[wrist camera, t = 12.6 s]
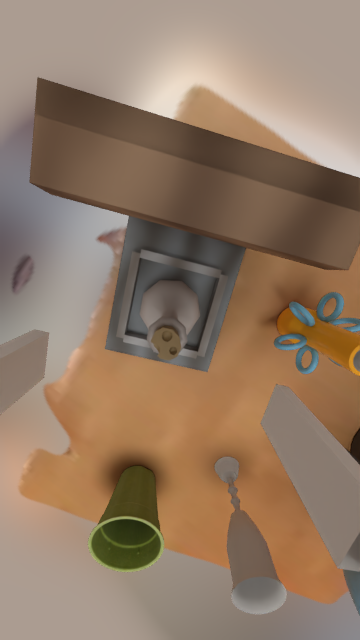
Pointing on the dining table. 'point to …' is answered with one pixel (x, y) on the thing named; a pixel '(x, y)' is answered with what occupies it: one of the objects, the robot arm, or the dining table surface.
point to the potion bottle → (169, 316)
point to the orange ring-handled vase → (320, 335)
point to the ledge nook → (187, 206)
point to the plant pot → (129, 525)
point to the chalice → (249, 555)
